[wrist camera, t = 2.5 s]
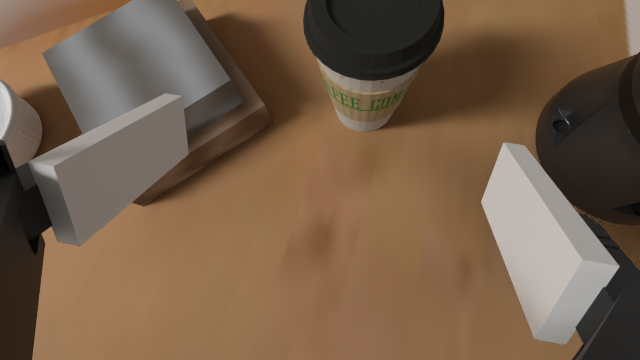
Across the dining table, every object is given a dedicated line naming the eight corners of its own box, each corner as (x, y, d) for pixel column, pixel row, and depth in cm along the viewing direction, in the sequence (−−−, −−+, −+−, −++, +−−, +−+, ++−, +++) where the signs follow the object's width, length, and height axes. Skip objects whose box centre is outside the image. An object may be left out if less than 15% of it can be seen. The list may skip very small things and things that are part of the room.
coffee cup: (326, 156, 36) (312, 78, 22) (311, 73, 39) (289, -45, 25) (421, 138, 36) (470, 47, 22) (399, 56, 39) (429, -74, 24)
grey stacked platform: (203, 21, 42) (170, -36, 34) (273, 122, 38) (254, 83, 30) (83, 93, 41) (21, 50, 33) (143, 206, 36) (88, 187, 29)
